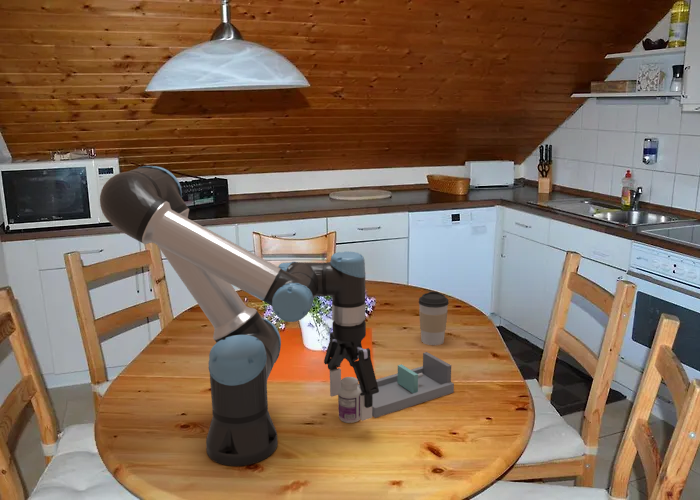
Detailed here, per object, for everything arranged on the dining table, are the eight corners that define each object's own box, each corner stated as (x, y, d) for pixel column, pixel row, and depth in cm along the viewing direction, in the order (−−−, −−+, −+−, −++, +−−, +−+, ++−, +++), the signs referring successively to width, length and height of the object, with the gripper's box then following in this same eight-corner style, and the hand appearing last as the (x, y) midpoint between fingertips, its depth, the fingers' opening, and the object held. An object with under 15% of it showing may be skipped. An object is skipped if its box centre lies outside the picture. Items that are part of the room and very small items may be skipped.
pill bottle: (348, 410, 148) (348, 373, 145) (365, 417, 144) (365, 379, 142) (333, 418, 144) (333, 381, 141) (351, 426, 140) (351, 387, 138)
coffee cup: (447, 347, 184) (448, 300, 180) (417, 345, 185) (417, 298, 182) (447, 336, 193) (448, 290, 189) (418, 334, 194) (419, 289, 190)
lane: (375, 417, 144) (375, 390, 142) (347, 396, 154) (347, 371, 152) (453, 392, 156) (454, 367, 154) (423, 374, 166) (423, 350, 165)
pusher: (413, 394, 152) (414, 375, 151) (397, 383, 158) (397, 365, 157) (430, 388, 155) (430, 370, 154) (413, 378, 161) (413, 360, 160)
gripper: (394, 334, 130) (394, 424, 135) (335, 302, 150) (337, 382, 155) (364, 341, 126) (365, 434, 131) (308, 308, 147) (311, 389, 152)
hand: (350, 406), depth 143 cm, fingers open, 13 cm apart
